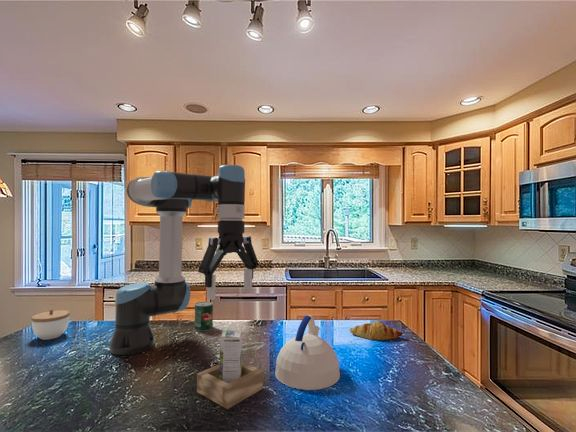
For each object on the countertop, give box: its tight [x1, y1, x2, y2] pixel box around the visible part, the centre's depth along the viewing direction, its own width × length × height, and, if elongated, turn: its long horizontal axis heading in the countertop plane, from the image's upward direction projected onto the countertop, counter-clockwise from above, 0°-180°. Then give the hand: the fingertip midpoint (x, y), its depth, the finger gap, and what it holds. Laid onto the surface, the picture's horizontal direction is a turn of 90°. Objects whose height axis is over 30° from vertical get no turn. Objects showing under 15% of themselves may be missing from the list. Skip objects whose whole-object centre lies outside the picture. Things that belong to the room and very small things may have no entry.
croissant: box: [349, 320, 403, 341], centre depth 132 cm, size 21×10×8 cm, turn 76°
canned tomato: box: [194, 301, 214, 332], centre depth 141 cm, size 8×8×11 cm
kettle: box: [274, 314, 341, 391], centre depth 100 cm, size 20×21×18 cm
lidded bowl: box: [31, 309, 71, 341], centre depth 130 cm, size 13×13×11 cm
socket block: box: [196, 361, 264, 410], centre depth 89 cm, size 13×13×5 cm
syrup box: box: [219, 329, 243, 384], centre depth 90 cm, size 6×6×14 cm
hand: (230, 294), depth 90 cm, fingers open, 13 cm apart
